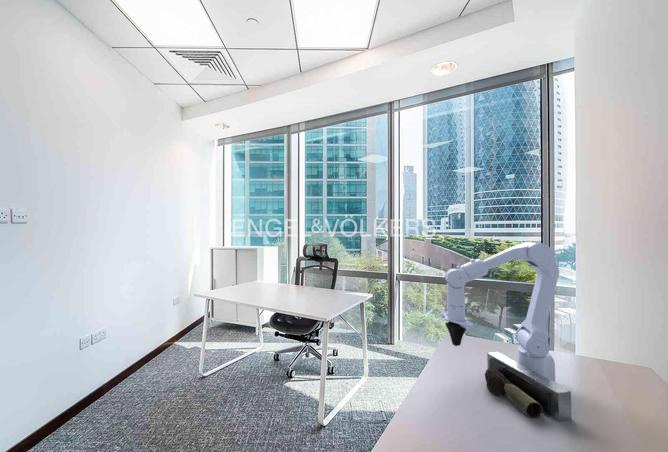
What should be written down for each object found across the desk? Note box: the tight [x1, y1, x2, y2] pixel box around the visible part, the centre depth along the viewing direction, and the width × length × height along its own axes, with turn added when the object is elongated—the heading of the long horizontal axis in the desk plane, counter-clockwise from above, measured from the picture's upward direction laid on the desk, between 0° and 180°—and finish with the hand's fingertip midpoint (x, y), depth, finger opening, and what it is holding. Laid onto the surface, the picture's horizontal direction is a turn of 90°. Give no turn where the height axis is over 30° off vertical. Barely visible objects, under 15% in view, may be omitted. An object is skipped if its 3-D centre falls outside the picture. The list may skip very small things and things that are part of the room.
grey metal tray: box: [486, 351, 573, 422], centre depth 82 cm, size 5×24×7 cm, turn 12°
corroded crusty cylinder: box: [484, 368, 543, 419], centre depth 80 cm, size 18×7×6 cm, turn 7°
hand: (456, 344), depth 95 cm, fingers closed
